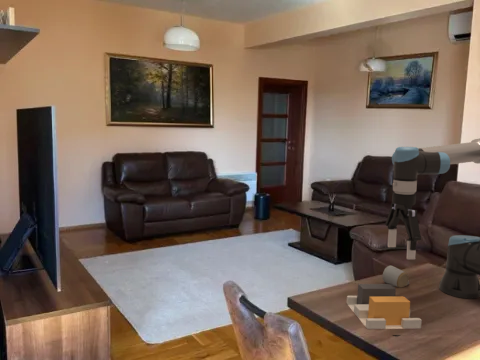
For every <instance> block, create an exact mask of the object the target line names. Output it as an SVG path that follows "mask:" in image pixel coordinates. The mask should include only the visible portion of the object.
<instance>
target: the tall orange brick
mask: <svg viewBox="0 0 480 360" xmlns="http://www.w3.org/2000/svg"><path fill="white" fill-rule="evenodd" d="M409 311H410V312H411V301H410V300H409V299H408V298H406V297H405V296H402V295H401V296H396V295H395V296H381V297H369V310H368V318H384V319H385V320H386V325H401V320H402V318H409Z"/></svg>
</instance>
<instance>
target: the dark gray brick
mask: <svg viewBox="0 0 480 360" xmlns="http://www.w3.org/2000/svg"><path fill="white" fill-rule="evenodd" d="M396 288H397V287H394V286H392V285H391V284H387V283H358V284H357V295H356V296H357V304H369V297H381V296H396V291H397V289H396Z"/></svg>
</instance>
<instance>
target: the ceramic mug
mask: <svg viewBox="0 0 480 360" xmlns="http://www.w3.org/2000/svg"><path fill="white" fill-rule="evenodd" d="M409 278H410V277H409V274H408V273H407V272H406V271H404V270H402V269H400V268H398V267H395V266H393V265H388V266H386V267H385V268H384V270H383V273H382V281H383V282H384V284H391V285H392V286H393V287H394V288H403V287H406V286H409V285H410V281H409V280H410V279H409Z"/></svg>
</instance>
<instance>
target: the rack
mask: <svg viewBox="0 0 480 360" xmlns="http://www.w3.org/2000/svg"><path fill="white" fill-rule="evenodd" d="M346 305H347V306H348V307H349V308H350V309H351V311H352V312H353V313H354V315H355V316H356V317H357V318H358V319H359V321H360V322H361V323H362V325H363V326H364V327H365V328H366V329H367V330H390V329H391V330H402V329H403V330H406V329H413V330H414V329H416V330H417V329H422V322H423V321H422V319H421V318H420V317H411V310H410V311H409V318H402V320H401V325H386V320H385V319H384V318H368V310H369V304H357V295H347V296H346Z"/></svg>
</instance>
